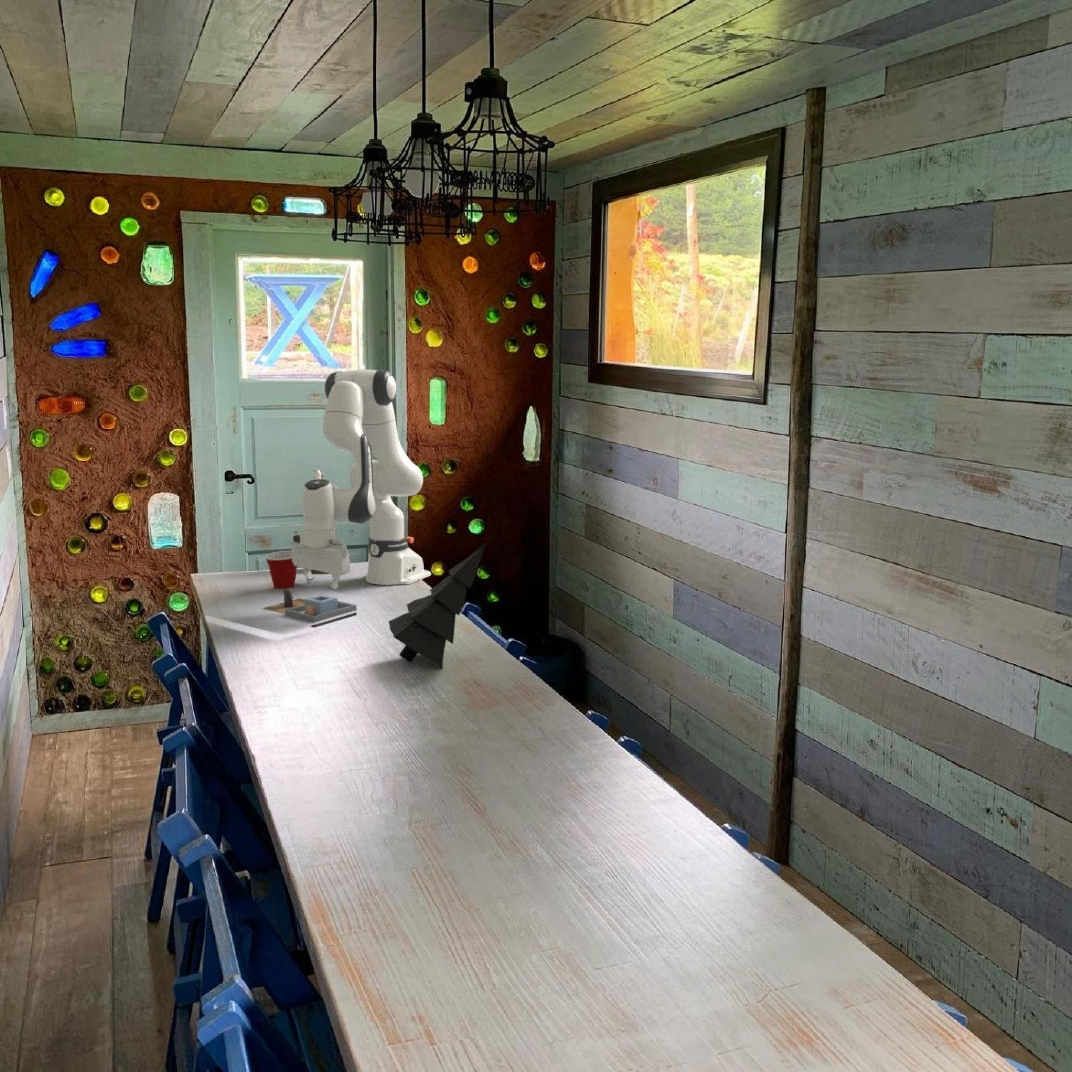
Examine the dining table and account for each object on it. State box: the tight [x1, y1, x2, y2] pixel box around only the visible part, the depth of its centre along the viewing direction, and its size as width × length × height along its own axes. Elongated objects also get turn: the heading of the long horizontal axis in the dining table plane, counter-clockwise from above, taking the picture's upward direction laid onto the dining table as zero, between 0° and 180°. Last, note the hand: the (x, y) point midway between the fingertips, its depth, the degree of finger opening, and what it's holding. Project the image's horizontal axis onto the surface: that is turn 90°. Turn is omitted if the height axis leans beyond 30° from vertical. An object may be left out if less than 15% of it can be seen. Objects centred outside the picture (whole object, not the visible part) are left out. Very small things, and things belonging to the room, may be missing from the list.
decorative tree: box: [388, 542, 487, 670], centre depth 268 cm, size 15×15×35 cm
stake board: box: [262, 588, 305, 615], centre depth 314 cm, size 14×10×6 cm
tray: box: [284, 600, 358, 628], centre depth 307 cm, size 16×12×3 cm
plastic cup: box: [264, 550, 298, 590], centre depth 336 cm, size 11×11×12 cm
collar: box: [304, 594, 339, 616], centre depth 306 cm, size 8×6×5 cm
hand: (322, 585), depth 306 cm, fingers open, 8 cm apart
